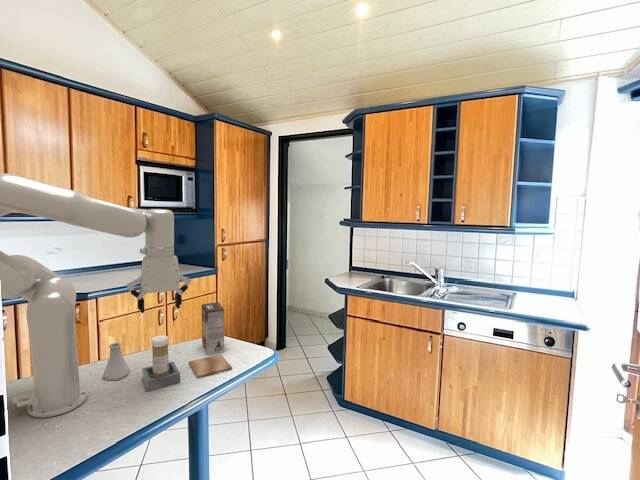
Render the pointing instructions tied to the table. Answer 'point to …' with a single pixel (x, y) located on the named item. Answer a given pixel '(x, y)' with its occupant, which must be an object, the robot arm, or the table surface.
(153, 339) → the sprinkles bottle
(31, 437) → the table surface
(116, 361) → the flask
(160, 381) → the steel collar holder
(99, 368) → the table surface
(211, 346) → the coffee box
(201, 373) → the walnut board
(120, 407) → the table surface
